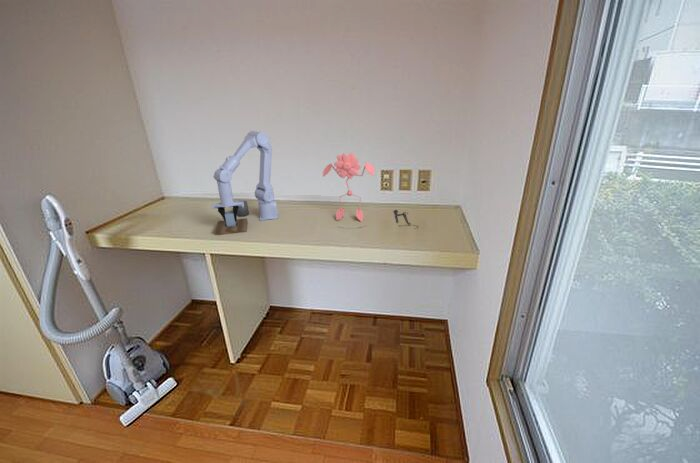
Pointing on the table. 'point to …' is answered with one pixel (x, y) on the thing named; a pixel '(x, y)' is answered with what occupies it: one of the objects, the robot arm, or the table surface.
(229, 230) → the socket block
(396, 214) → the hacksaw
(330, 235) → the table surface
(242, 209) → the round peg
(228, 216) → the square peg
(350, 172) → the figurine
